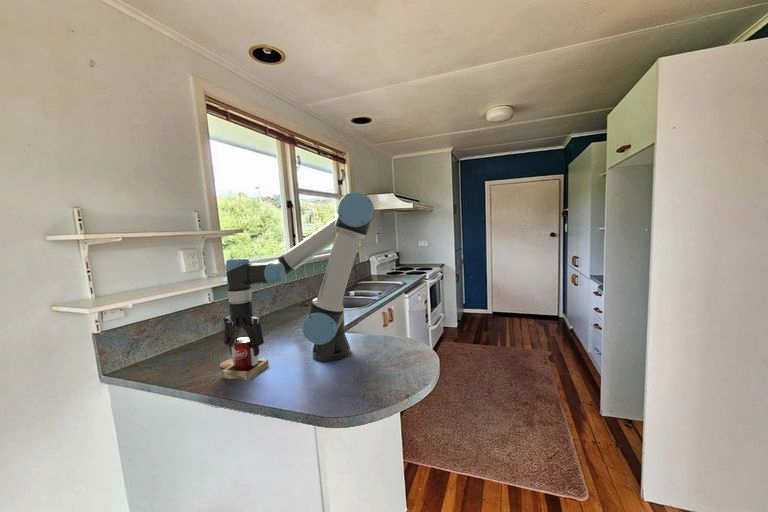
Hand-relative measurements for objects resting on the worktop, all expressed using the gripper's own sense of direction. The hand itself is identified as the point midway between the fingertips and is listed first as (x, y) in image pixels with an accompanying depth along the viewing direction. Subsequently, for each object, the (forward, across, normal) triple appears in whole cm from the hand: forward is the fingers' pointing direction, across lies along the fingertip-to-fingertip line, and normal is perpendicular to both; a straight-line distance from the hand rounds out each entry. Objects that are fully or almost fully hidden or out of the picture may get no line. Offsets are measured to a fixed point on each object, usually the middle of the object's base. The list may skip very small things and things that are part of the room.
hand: (245, 363), depth 110 cm
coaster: (+3, +11, -6) cm, 13 cm away
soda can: (+3, 0, 0) cm, 3 cm away
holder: (+3, 0, 0) cm, 3 cm away
